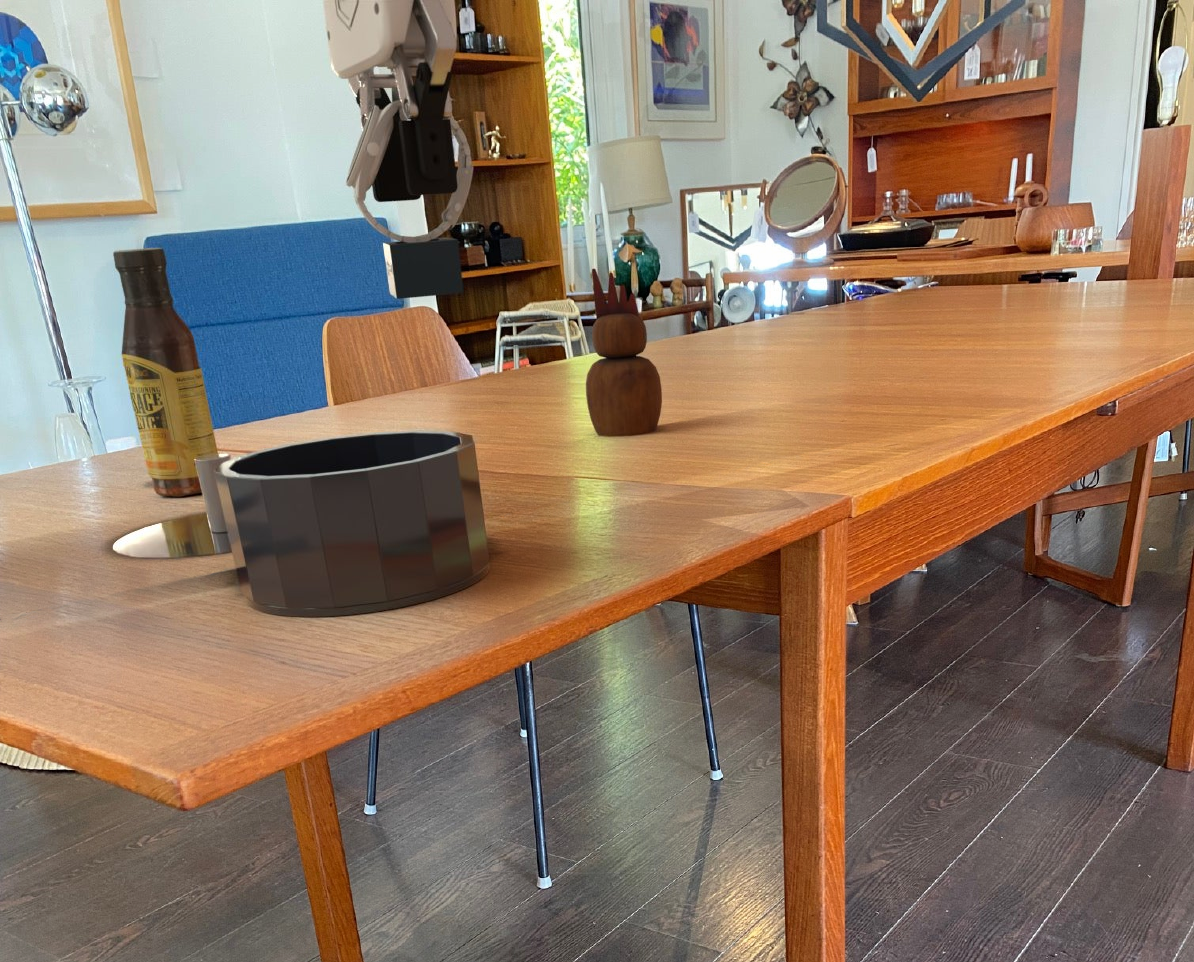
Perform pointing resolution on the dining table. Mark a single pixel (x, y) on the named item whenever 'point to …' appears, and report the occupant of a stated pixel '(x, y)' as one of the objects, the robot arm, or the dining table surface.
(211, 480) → the lid
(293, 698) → the dining table surface
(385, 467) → the dark grey round bin
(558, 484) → the dining table surface
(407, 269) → the watch
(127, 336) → the sauce bottle
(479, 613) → the dining table surface
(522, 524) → the dining table surface
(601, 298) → the wooden figurine
